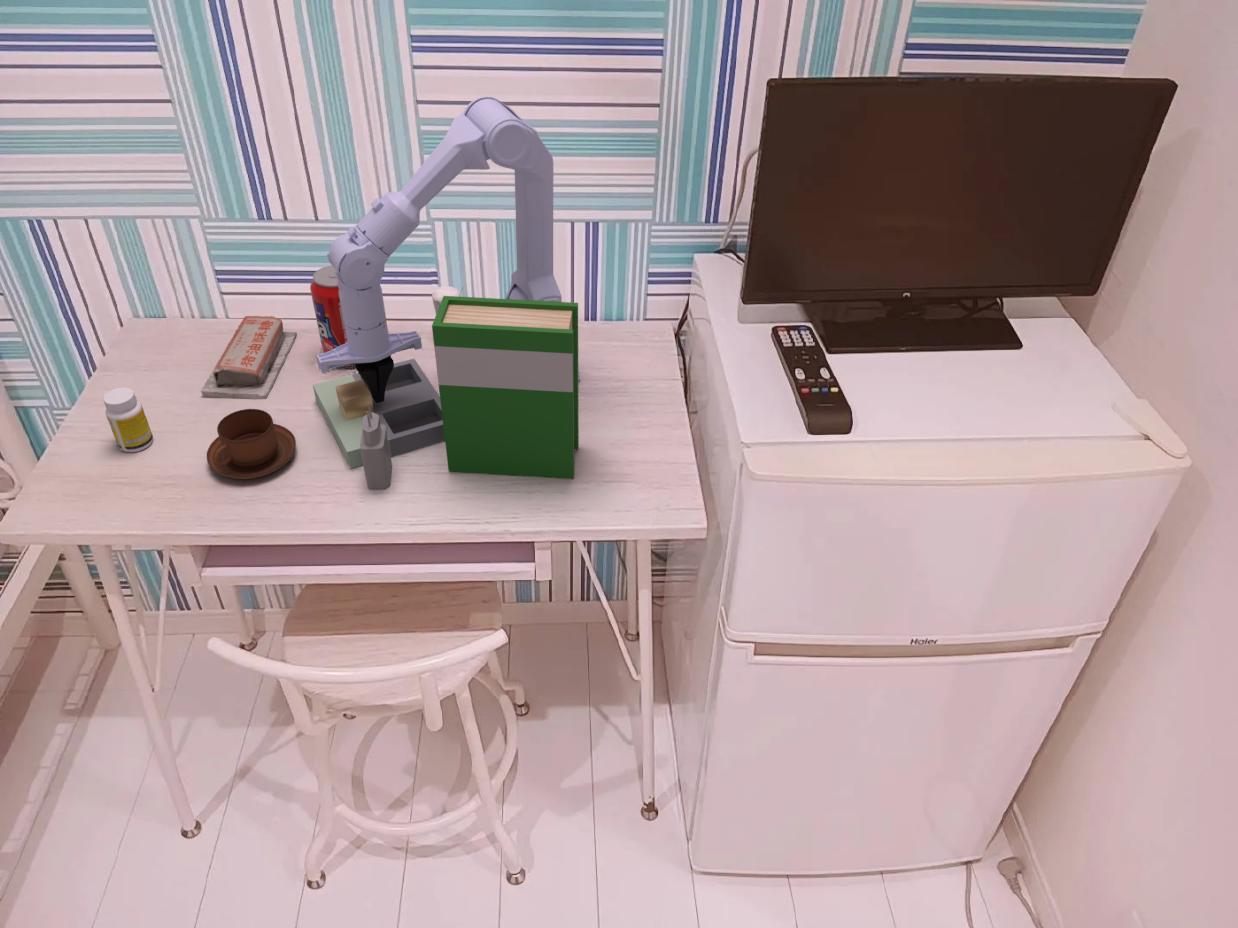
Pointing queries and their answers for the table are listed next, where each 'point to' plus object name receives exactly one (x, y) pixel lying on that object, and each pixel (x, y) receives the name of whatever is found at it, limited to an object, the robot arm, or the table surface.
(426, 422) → the box
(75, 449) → the table surface
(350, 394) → the maple block
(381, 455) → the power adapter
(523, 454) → the hardback book
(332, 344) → the soda can
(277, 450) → the cup and saucer
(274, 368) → the packaged product
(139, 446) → the supplement bottle
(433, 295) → the milkshake
